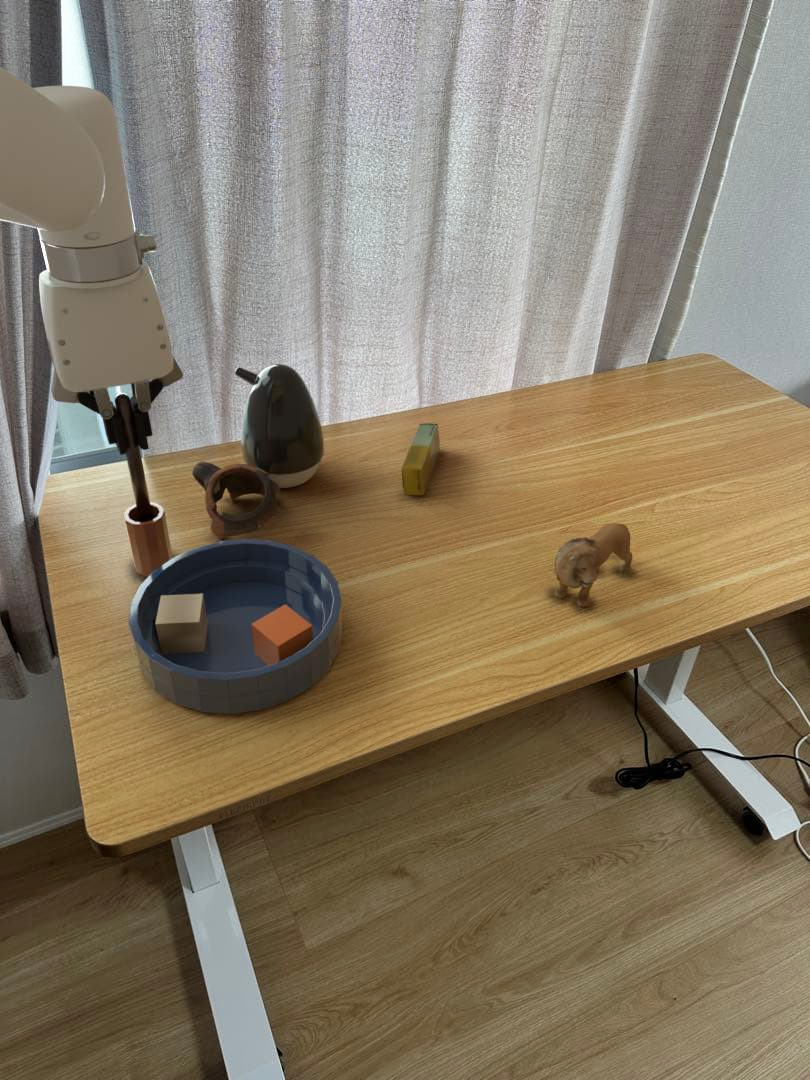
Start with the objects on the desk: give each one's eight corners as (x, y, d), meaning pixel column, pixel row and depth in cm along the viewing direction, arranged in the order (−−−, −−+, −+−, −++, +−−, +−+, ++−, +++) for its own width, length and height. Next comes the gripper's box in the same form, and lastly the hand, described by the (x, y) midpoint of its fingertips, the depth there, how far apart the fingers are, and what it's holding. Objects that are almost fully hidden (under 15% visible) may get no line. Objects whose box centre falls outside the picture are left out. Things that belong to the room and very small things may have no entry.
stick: (143, 533, 85) (115, 398, 75) (139, 526, 86) (111, 392, 75) (156, 530, 85) (130, 395, 75) (152, 522, 86) (126, 389, 76)
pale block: (161, 654, 76) (155, 624, 74) (166, 625, 80) (160, 595, 77) (204, 652, 77) (199, 621, 74) (208, 623, 80) (203, 593, 78)
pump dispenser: (258, 450, 107) (249, 343, 98) (334, 461, 106) (332, 353, 97) (230, 492, 99) (217, 379, 90) (311, 504, 98) (306, 391, 89)
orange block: (280, 677, 75) (278, 646, 72) (254, 654, 77) (251, 623, 74) (314, 655, 77) (312, 625, 75) (287, 634, 79) (285, 604, 77)
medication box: (420, 448, 109) (419, 422, 107) (440, 449, 109) (439, 422, 107) (402, 495, 100) (400, 467, 97) (424, 496, 99) (422, 468, 97)
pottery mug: (300, 506, 98) (295, 476, 91) (257, 569, 95) (247, 544, 87) (218, 461, 100) (206, 428, 92) (173, 521, 97) (156, 492, 89)
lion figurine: (580, 633, 82) (596, 565, 76) (534, 611, 84) (546, 543, 79) (639, 562, 91) (657, 496, 86) (596, 544, 94) (611, 479, 88)
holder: (139, 581, 86) (128, 528, 81) (131, 559, 88) (120, 507, 84) (177, 571, 87) (168, 518, 83) (168, 550, 90) (158, 498, 86)
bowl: (166, 747, 69) (157, 708, 66) (119, 607, 82) (109, 569, 79) (374, 675, 76) (374, 637, 73) (299, 557, 90) (297, 521, 87)
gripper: (174, 232, 73) (199, 412, 84) (-13, 253, 67) (41, 444, 78) (197, 258, 68) (220, 446, 79) (-4, 284, 62) (53, 483, 73)
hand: (131, 444), depth 79 cm, fingers closed on stick, 1 cm apart
